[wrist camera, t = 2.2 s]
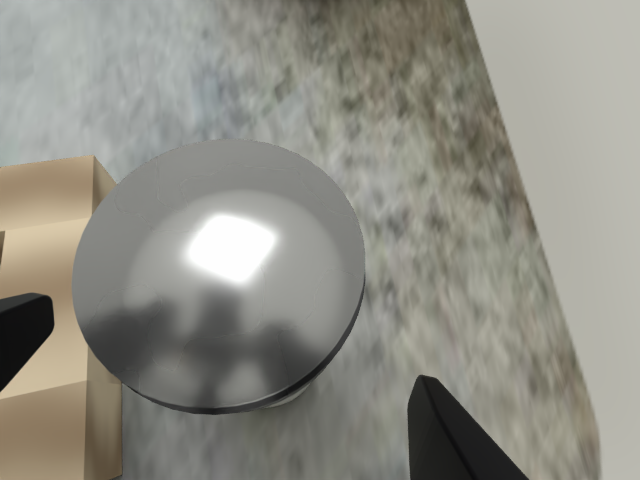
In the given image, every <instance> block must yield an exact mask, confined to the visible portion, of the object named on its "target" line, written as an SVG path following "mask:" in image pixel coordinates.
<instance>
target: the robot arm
mask: <svg viewBox="0 0 640 480" xmlns="http://www.w3.org/2000/svg"><path fill="white" fill-rule="evenodd" d="M54 326H55V321H54V310H53V301H52V298H51V297H50V296H48V295H44V294H40V293H35V292H30V293H25V294H21V295H16V296H12V297H7V298H3V299H0V392H1V391H2V390H3V389H4V388H5V387H6V386H7V385H8V384H9V383H10V381H11V380H12V379H13V378H14V377H15V376H16V375H17V373H18V372H19V371H20V370H21V369H22V368H23V366H24V365H25V364H26V363H27V362H28V361H29V359H30V358H31V357H32V356H33V355H34V354H35V352H36V351H37V350H38V349H39V348H40V347H41V345H42V344H43V343H44V342H45V341H46V340H47V338H48V337H49V336H50V335H51V333H52V332H53V329H54ZM407 413H408V439H409V465H410V480H529V479H528V478H527V477H526V476H525V475H524V474H523V472H522V471H521V470H520V469H519V468H518V467H517V466H516V465H515V464H514V463H513V461H512V460H511V459H510V458H509V457H508V456H507V455H506V454H505V453H504V452H503V450H502V449H501V448H500V447H499V446H498V445H497V444H496V443H495V442H494V441H493V439H492V438H491V437H490V436H489V435H488V434H487V433H486V432H485V431H484V430H483V429H482V427H481V426H480V425H479V424H478V423H477V422H476V421H475V420H474V419H473V418H472V416H471V415H470V414H469V413H468V412H467V411H466V410H465V409H464V408H463V407H462V405H461V404H460V403H459V402H458V401H457V400H456V399H455V398H454V397H453V396H452V394H451V393H450V392H449V391H448V390H447V389H446V388H445V387H444V386H443V385H442V384H441V382H440V381H439V380H438V379H436V378H434V377H430V376H425V375H419V376H418V377H417V379H416V381H415V384H414V387H413V390H412V393H411V396H410V399H409V402H408V409H407Z"/></svg>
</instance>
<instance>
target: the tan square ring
mask: <svg viewBox="0 0 640 480" xmlns="http://www.w3.org/2000/svg"><path fill="white" fill-rule="evenodd" d="M116 185H117V184H116V182H115V181H114V180H113V179H112V177H111V176H110V175H109V174H108V172H107V171H106V170H105V169H104V167H103V166H102V165H101V164H100V162H99V161H98V160H97V159H96V157H95V156H94V155H89V156H81V157H74V158H66V159H59V160H51V161H43V162H36V163H28V164H21V165H13V166H5V167H0V265H1V267H0V299H3V298H7V297H12V296H16V295H21V294H25V293H30V292H35V293H40V294H44V295H48V296H50V297H51V298H52V301H53V310H54V321H55V326H54V329H53V332H52V333H51V335H50V336H49V337H48V338H47V340H46V341H45V342H44V343H43V344H42V345H41V347H40V348H39V349H38V350H37V351H36V352H35V354H34V355H33V356H32V357H31V358H30V359H29V361H28V362H27V363H26V364H25V365H24V366H23V368H22V369H21V370H20V371H19V372H18V373H17V375H16V376H15V377H14V378H13V379H12V380H11V381H10V383H9V384H8V385H7V386H6V387H5V388H4V389H3V390H2V391H1V392H0V480H110V479H112V478H115V477H117V476H120V475H122V389H121V381H120V380H119V379H118V378H116V377H115V376H114V375H113V374H111V373H110V372H109V371H108V370H107V369H106V368H105V367H104V365H103V364H102V363H101V362H100V361H99V360H98V359H97V358H96V357H95V355H94V354H93V352H92V350H91V349H90V347H89V346H88V344H87V343H86V341H85V339H84V337H83V334H82V332H81V330H80V327H79V325H78V323H77V319H76V315H75V311H74V307H73V299H72V287H71V285H72V270H73V264H74V259H75V254H76V250H77V247H78V244H79V241H80V239H81V236H82V233H83V231H84V229H85V227H86V225H87V223H88V221H89V220H90V218H91V216H92V214H93V213H94V212H95V210H96V209H97V207H98V206H99V204H100V203H101V201H102V200H103V199H104V198H105V197H106V196H107V195H108V193H109V192H110V191H111V190H112V189H113V188H114V187H115V186H116Z"/></svg>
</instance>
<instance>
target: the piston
mask: <svg viewBox="0 0 640 480" xmlns="http://www.w3.org/2000/svg"><path fill="white" fill-rule="evenodd" d="M364 286H365V248H364V242H363V235H362V232H361V229H360V225H359V222H358V219H357V217H356V215H355V212H354V210H353V208H352V206H351V204H350V203H349V201H348V199H347V198H346V196H345V195H344V193H343V192H342V191H341V189H340V188H339V187H338V186H337V184H336V183H335V182H334V181H333V180H332V179H331V178H330V177H329V176H328V175H327V174H326V173H325V172H324V171H323V170H321V169H320V168H319V167H317V166H316V165H314V164H313V163H312V162H310V161H309V160H307V159H305V158H303V157H302V156H300V155H298V154H296V153H294V152H292V151H289V150H287V149H285V148H282V147H279V146H275V145H272V144H269V143H264V142H259V141H253V140H243V139H218V140H210V141H202V142H198V143H193V144H189V145H185V146H182V147H179V148H176V149H173V150H171V151H168V152H166V153H164V154H162V155H159V156H157V157H155V158H153V159H152V160H150V161H148V162H146V163H145V164H143V165H141V166H140V167H138V168H137V169H136V170H134V171H133V172H131V173H130V174H129V175H127V176H126V177H125V178H124V179H123V180H122V181H121V182H119V183H118V184H117V185H116V186H115V187H114V188H113V189H112V190H111V191H110V192H109V193H108V195H107V196H106V197H105V198H104V199H103V200H102V201H101V203H100V204H99V206H98V207H97V209H96V210H95V212H94V213H93V214H92V216H91V218H90V220H89V221H88V223H87V225H86V227H85V229H84V231H83V233H82V236H81V239H80V241H79V244H78V247H77V250H76V254H75V259H74V264H73V270H72V285H71V287H72V299H73V307H74V311H75V315H76V319H77V323H78V325H79V327H80V330H81V332H82V334H83V337H84V339H85V341H86V343H87V344H88V346H89V347H90V349H91V350H92V352H93V354H94V355H95V357H96V358H97V359H98V360H99V361H100V362H101V363H102V364H103V365H104V367H105V368H106V369H107V370H108V371H109V372H110V373H111V374H113V375H114V376H115V377H116V378H118V379H119V380H120V381H122V382H123V383H124V384H125V385H127V386H128V387H129V388H131V389H132V390H133V391H134V392H136V393H138V394H139V395H141V396H143V397H145V398H147V399H148V400H150V401H152V402H154V403H157V404H159V405H162V406H165V407H168V408H170V409H173V410H178V411H183V412H188V413H193V414H211V415H218V414H229V413H240V412H249V411H253V410H258V409H262V408H269V407H276V406H280V405H283V404H285V403H288V402H290V401H292V400H293V399H295V398H296V397H298V396H299V395H300V394H301V393H302V392H303V391H304V390H306V388H307V387H308V386H309V385H310V383H311V382H312V381H313V380H314V379H315V378H316V377H317V376H318V375H319V374H320V373H321V372H322V371H323V370H324V369H325V368H326V366H327V365H328V364H329V363H330V361H331V360H332V359H333V358H334V356H335V355H336V354H337V352H338V351H339V350H340V349H341V347H342V346H343V344H344V342H345V341H346V339H347V337H348V336H349V334H350V332H351V330H352V328H353V325H354V323H355V321H356V319H357V316H358V313H359V310H360V306H361V303H362V299H363V293H364Z"/></svg>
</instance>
